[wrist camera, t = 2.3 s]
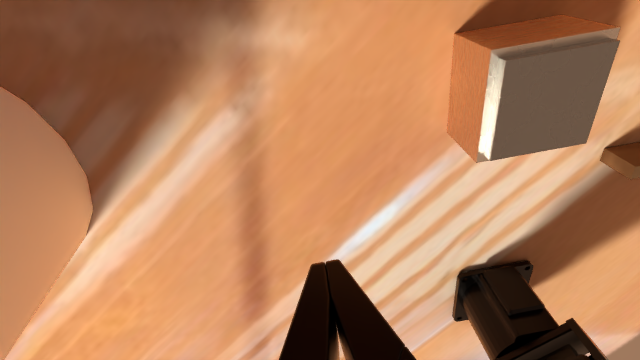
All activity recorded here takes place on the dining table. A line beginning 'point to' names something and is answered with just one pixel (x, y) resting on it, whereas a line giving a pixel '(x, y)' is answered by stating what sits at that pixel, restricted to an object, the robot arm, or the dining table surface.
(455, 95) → the light grey small box
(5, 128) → the canister
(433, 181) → the dining table surface
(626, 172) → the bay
